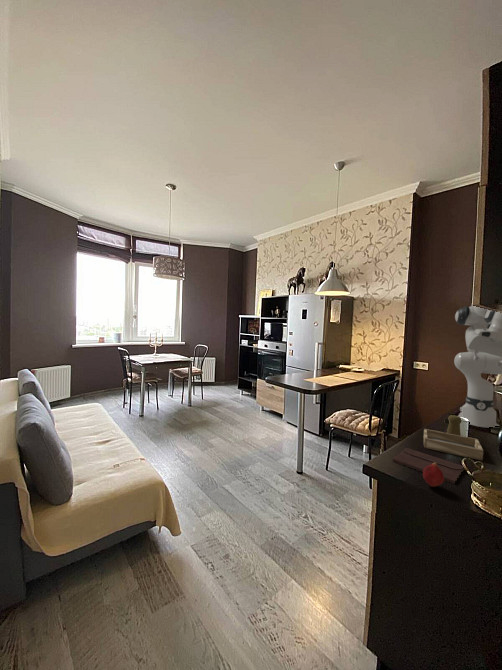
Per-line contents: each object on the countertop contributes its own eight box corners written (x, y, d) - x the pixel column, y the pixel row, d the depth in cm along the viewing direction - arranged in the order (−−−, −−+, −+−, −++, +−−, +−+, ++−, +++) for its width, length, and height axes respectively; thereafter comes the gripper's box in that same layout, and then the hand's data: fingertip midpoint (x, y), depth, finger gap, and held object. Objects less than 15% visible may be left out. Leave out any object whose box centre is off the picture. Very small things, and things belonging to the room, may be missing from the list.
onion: (426, 490, 93) (428, 465, 92) (419, 480, 99) (420, 457, 98) (446, 492, 92) (448, 468, 92) (437, 482, 98) (439, 459, 97)
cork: (458, 442, 133) (460, 418, 132) (443, 438, 138) (445, 415, 137) (463, 439, 136) (465, 416, 136) (448, 435, 141) (450, 413, 141)
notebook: (454, 485, 97) (454, 479, 97) (392, 462, 112) (392, 457, 111) (463, 470, 108) (464, 465, 108) (406, 451, 122) (406, 447, 122)
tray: (423, 437, 138) (424, 428, 138) (476, 447, 128) (477, 439, 128) (423, 447, 126) (424, 438, 126) (482, 460, 116) (483, 450, 116)
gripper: (522, 339, 135) (510, 367, 138) (471, 328, 141) (461, 355, 145) (529, 342, 129) (516, 371, 133) (475, 330, 136) (464, 358, 139)
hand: (487, 362), depth 139 cm, fingers open, 8 cm apart
